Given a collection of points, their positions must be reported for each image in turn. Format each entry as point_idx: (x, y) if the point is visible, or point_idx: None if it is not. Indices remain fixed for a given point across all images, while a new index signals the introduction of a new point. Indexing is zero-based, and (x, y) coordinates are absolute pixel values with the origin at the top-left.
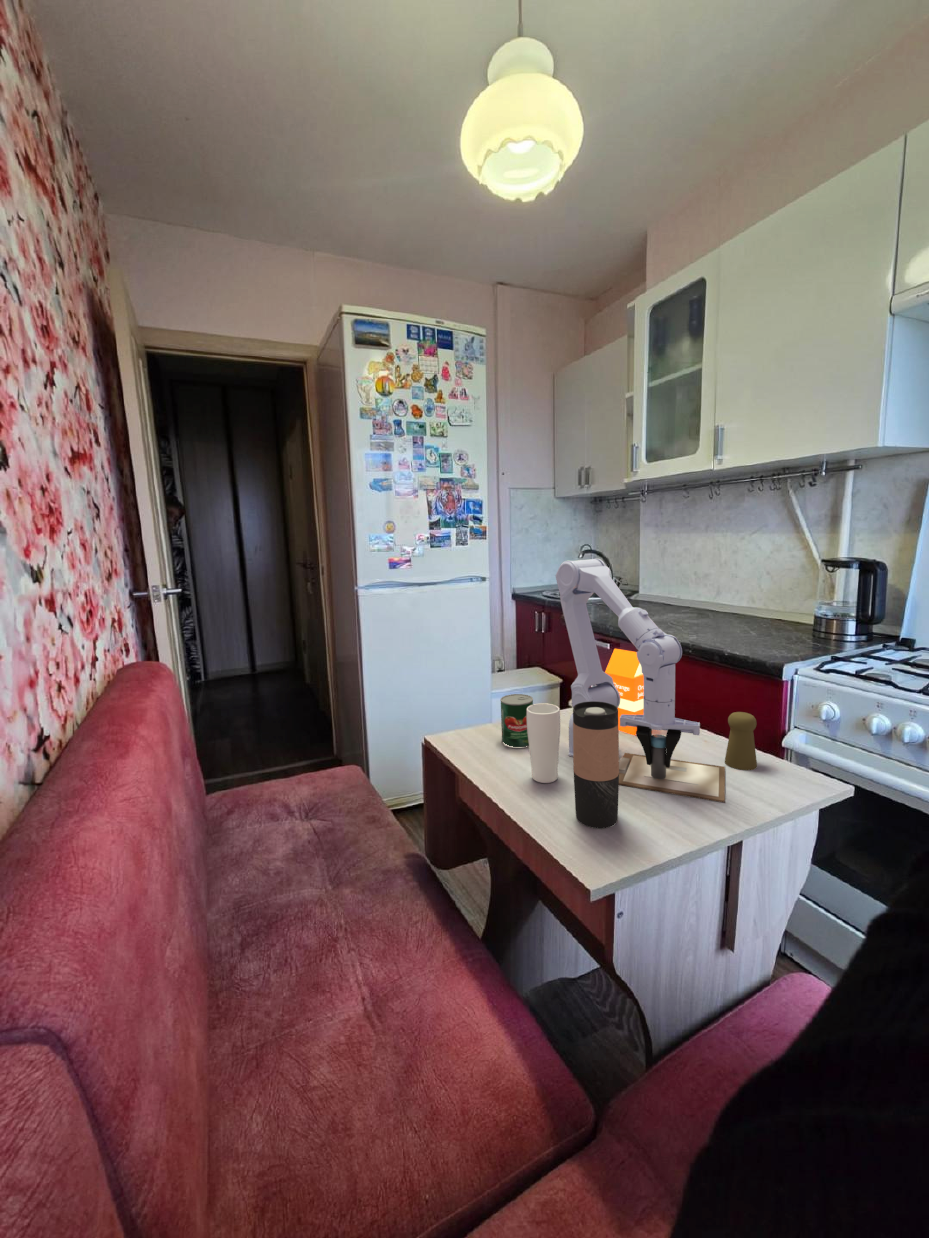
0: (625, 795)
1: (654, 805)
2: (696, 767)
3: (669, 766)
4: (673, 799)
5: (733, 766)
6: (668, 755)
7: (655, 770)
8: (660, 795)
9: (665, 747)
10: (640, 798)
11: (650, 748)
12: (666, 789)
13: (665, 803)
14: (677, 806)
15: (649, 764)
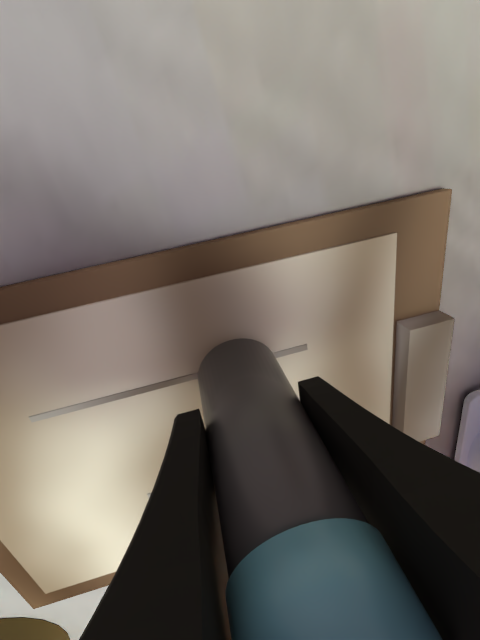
0: (350, 73)
1: (141, 20)
2: (126, 544)
3: (174, 425)
4: (75, 195)
5: (8, 626)
6: (176, 491)
7: (254, 363)
8: (164, 203)
9: (230, 575)
10: (256, 84)
11: (359, 503)
12: (153, 274)
13: (91, 102)
14: (2, 102)
15: (305, 380)
